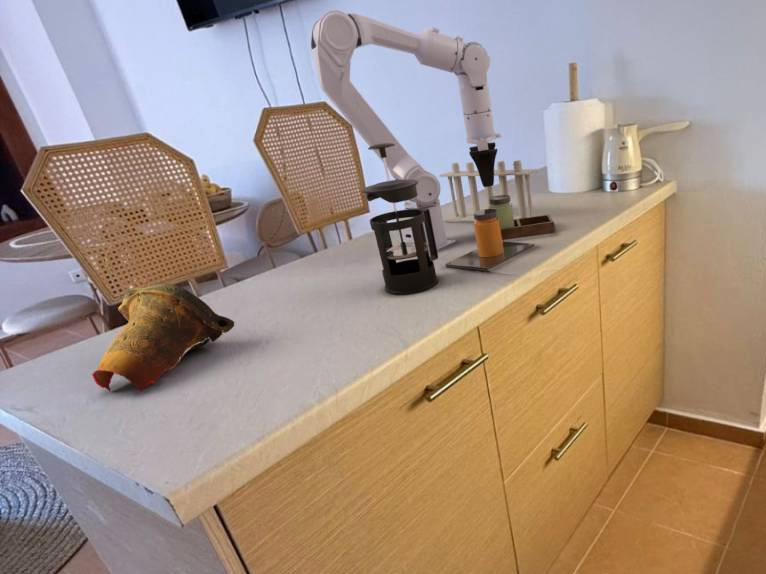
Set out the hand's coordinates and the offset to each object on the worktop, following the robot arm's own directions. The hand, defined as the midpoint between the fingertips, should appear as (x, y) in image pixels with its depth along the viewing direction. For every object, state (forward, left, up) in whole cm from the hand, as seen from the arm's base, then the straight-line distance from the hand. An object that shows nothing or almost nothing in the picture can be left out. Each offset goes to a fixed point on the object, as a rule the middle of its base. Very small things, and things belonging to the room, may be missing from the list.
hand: (487, 183), depth 117 cm
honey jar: (-16, -11, -10) cm, 22 cm away
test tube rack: (+9, +7, -11) cm, 15 cm away
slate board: (-16, -11, -10) cm, 22 cm away
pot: (-68, +7, -11) cm, 69 cm away
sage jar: (-3, -5, -10) cm, 12 cm away
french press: (-32, -7, -11) cm, 35 cm away
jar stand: (-1, -8, -10) cm, 13 cm away
